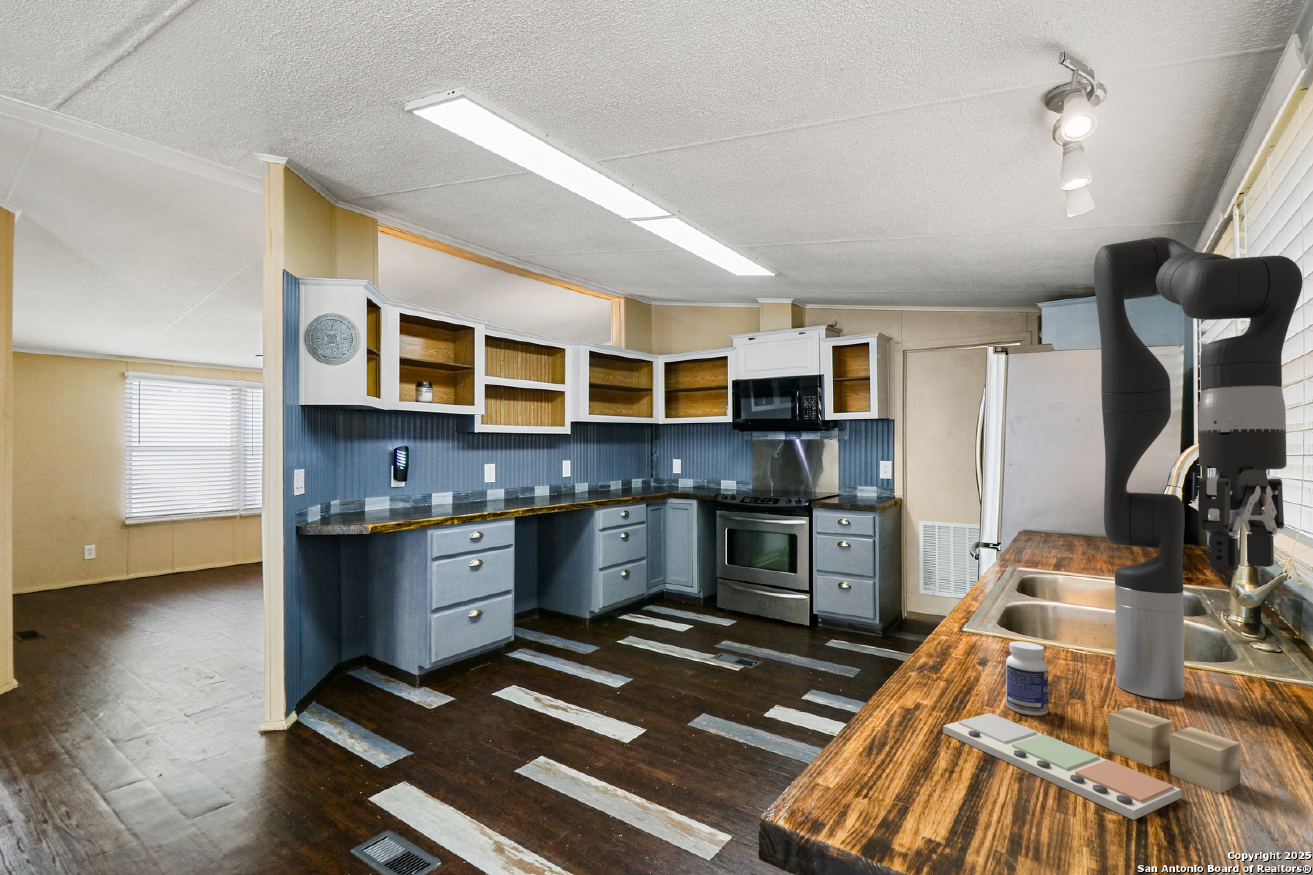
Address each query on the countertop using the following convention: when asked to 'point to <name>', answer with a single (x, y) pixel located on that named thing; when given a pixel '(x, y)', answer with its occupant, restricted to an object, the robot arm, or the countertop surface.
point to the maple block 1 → (1140, 736)
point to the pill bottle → (1027, 679)
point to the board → (1066, 765)
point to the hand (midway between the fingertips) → (1242, 568)
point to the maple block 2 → (1205, 759)
